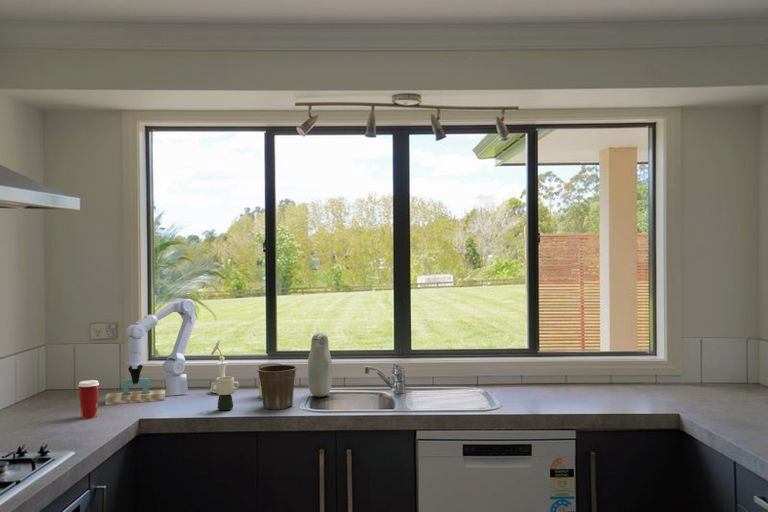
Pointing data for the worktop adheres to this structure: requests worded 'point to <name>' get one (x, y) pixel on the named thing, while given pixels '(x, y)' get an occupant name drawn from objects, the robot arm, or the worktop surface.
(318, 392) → the white tall rounded figure
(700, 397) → the worktop surface
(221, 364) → the flower in vase
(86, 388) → the paper cup
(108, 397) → the tan segmented bar
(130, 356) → the robot arm
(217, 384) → the character mug
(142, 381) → the staple
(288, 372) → the plant pot
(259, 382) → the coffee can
